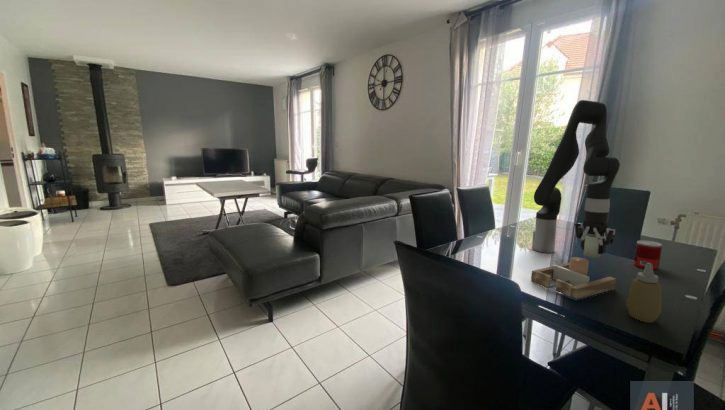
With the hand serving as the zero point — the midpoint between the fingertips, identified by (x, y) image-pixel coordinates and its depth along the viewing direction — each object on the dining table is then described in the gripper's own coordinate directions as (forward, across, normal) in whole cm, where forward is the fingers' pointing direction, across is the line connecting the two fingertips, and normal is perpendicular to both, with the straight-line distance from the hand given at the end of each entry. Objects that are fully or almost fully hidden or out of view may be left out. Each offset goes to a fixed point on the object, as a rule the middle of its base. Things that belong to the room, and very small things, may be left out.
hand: (592, 251), depth 118 cm
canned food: (+13, -1, -35) cm, 38 cm away
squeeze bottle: (+13, -24, +13) cm, 30 cm away
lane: (+12, 0, +10) cm, 16 cm away
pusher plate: (+12, 0, +17) cm, 21 cm away
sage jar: (+2, 0, 0) cm, 2 cm away
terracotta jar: (+12, 0, +7) cm, 14 cm away
